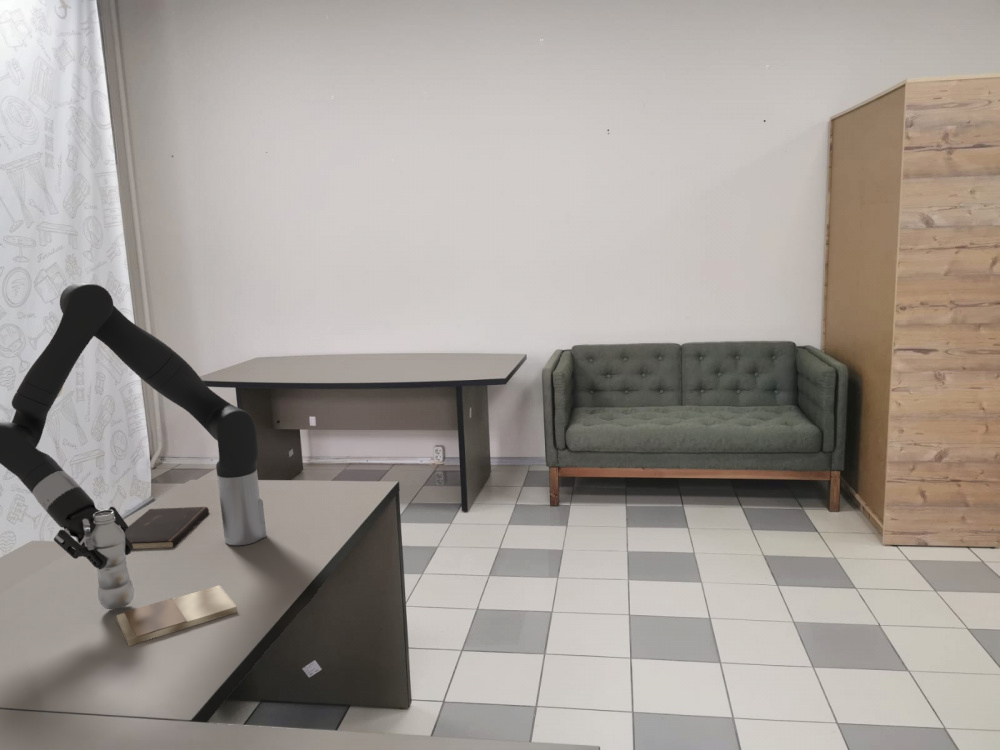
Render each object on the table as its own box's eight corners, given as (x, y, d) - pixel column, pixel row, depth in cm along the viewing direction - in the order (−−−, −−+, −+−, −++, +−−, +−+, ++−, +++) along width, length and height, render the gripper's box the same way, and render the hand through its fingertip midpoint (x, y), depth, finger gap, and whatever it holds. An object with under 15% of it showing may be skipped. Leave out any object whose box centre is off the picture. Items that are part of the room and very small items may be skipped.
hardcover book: (108, 552, 190) (107, 543, 189) (150, 516, 212) (149, 508, 212) (174, 549, 190) (173, 540, 189) (209, 514, 212) (208, 506, 212)
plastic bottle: (122, 614, 155) (107, 519, 151) (92, 612, 157) (77, 518, 153) (142, 598, 162) (129, 507, 158) (114, 596, 163) (99, 506, 159)
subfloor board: (220, 590, 166) (219, 584, 165) (237, 611, 156) (236, 605, 156) (117, 620, 155) (116, 614, 154) (128, 645, 145) (127, 639, 145)
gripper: (40, 499, 150) (97, 563, 149) (99, 475, 163) (152, 534, 162) (24, 523, 153) (79, 586, 151) (84, 497, 166) (135, 555, 165)
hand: (117, 558), depth 157 cm, fingers closed on plastic bottle, 6 cm apart
